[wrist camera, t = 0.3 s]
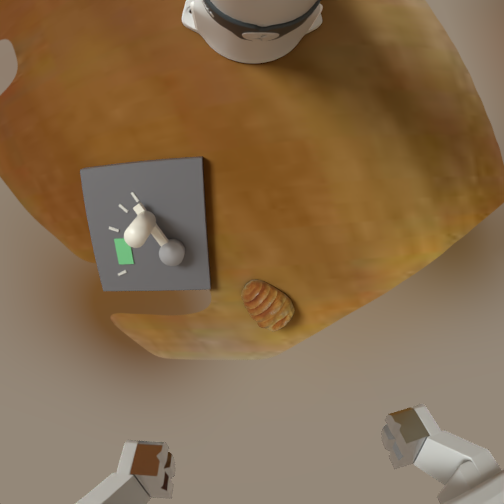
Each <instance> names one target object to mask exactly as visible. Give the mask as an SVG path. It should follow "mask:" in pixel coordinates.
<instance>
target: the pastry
mask: <svg viewBox="0 0 504 504" xmlns="http://www.w3.org/2000/svg"><path fill="white" fill-rule="evenodd" d="M241 297H242V299H243V301H244V305H245V307H246V308H247V310H248V312H249V314H250V316H251V318H253V319H254V320H255V321H257V322H258V325H259V326H260V327H262V328H266V329H268V330H271V331H277V330H279V329H281V328H283V327H284V326H286V325H287V323H288V322H289V321H290V320H291V319H292V317H293V314H294V312H295V309H294V307H293V305H292V302H291V300H290V298H288V297H287V296H286V295H285V294H284V293H282V292H281V291H280V290H278V289H277V288H275V287H273V286H271V285H270V284H268V283H266V282H264V281H260V280H251V281H250V282H248V283H247V284H246V285H245V287H244V288H243V290H242V295H241Z"/></svg>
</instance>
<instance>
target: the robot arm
mask: <svg viewBox="0 0 504 504" xmlns="http://www.w3.org/2000/svg"><path fill="white" fill-rule="evenodd" d="M320 1H321V0H186V3H185V7H184V11H183V15H182V23H183V25H184V26H185V27H187V28H189V29H191V30H193V31H195V32H197V33H199V34H200V35H201V36H202V37H203V38H204V39H205V41H206V42H207V43H208V44H209V46H210V47H211V48H212V49H214V50H215V51H216V52H217V53H219V54H221V55H222V56H224V57H226V58H228V59H231V60H234V61H237V62H242V63H253V64H254V63H265V62H269V61H273V60H276V59H278V58H280V57H282V56H284V55H286V54H287V53H289V52H290V51H291V50H292V49H293V48H294V47H295V46H296V45H297V44H298V43H299V41H300V40H301V39H302V37H303V36H304V35H305V34H307V33H309V32H311V31H313V30H315V29H317V28H318V27H319V26H320V25H321V23H322V16H321V11H322V8H323V6H322V4H320ZM190 11H191V12H192V14H191V13H190ZM385 421H386V423H387V424H386V425H385V426H384V427H383V429H382V442H383V445H384V447H385V449H387V450H388V451H390V455H389V459H390V461H391V463H392V465H393V467H394V469H397V468H400V467H404V466H407V465H409V464H413V463H414V465H416V466H417V467H419V468H420V469H421V470H423V471H424V472H426V473H427V474H429V475H430V476H432V477H433V478H435V479H436V480H438V481H439V482H441V483H442V484H444V485H445V487H444V488H443V489H442V490H441V492H440V493H439V494H438V496H437V497H438V500H439V502H440V504H504V470H501V469H500V467H499V465H498V464H497V462H496V461H495V459H494V458H493V456H492V455H491V453H490V452H489V450H487V449H486V448H483V447H481V446H478V445H476V444H474V443H472V442H470V441H467V440H465V439H463V438H460V437H458V436H456V435H454V434H452V433H450V432H448V431H445V430H444V431H441V429H440V428H439V426H438V425H437V423H436V422H435V420H434V419H433V417H432V416H431V414H430V412H429V411H428V409H427V408H426V406H425V405H423V404H420V405H417V406H414V407H411V408H407V409H404V410H401V411H397V412H394V413H391V414H388V415H387V416H386V419H385ZM168 449H169V447H168V445H167V443H166V442H147V441H136V440H127V441H126V442H125V444H124V447H123V451H122V454H121V458H120V461H119V465H118V469H117V473H112V474H111V475H110V476H108V477H107V478H106V479H105V480H104V481H103V482H101V483H100V484H99V485H98V486H96V487H95V488H94V489H93V490H92V491H90V492H89V493H88V494H87V495H85V496H84V497H83V498H82V499H80V500H79V501H78V502H77V503H75V504H147V502H148V501H149V500H150V499H151V498H150V497H153V498H172V493H173V483H172V481H171V480H170V479H171V478H172V477H174V475H175V461H174V457H173V455H172V454H171V453H170V452H168Z"/></svg>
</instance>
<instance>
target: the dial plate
mask: <svg viewBox="0 0 504 504" xmlns="http://www.w3.org/2000/svg"><path fill="white" fill-rule="evenodd" d="M80 174H81V182H82V189H83V195H84V202H85V208H86V214H87V219H88V225H89V230H90V235H91V240H92V245H93V249H94V254H95V258H96V263H97V267H98V271H99V275H100V279H101V283H102V287H103V291H161V290H201V289H211V279H210V266H209V253H208V240H207V225H206V209H205V192H204V173H203V156H202V157H185V158H171V159H159V160H148V161H138V162H128V163H119V164H111V165H103V166H95V167H88V168H83V169H81V170H80ZM140 202H141V203H142V204H143V206H144V207H145V209H146V210H147V211H149V212H151V213H153V214H154V216H155V218H156V224H157V225H158V227H159V228H160V229H161V231H162V232H163V233H164V235H165V236H166V237H167V239H177V240H179V241H181V242H182V243H183V245H184V247H185V255H184V258H183V260H182V262H181V263H180V264H179V265H176V266H168V265H166V264H164V263H163V262H162V261H161V259H160V257H159V250H160V248H161V246H160V245H159V243H158V242H157V241H156V239H155V238H154V237H153V235H152V234H151V233H150V235H149V236H148V238H147V240H146V241H145V243H144V244H143V245H142V246H141V247H139V248H133V247H130V246H129V245H128V244H127V243H126V242H125V240H124V232H125V230H126V229H127V228H128V227H129V225H130V224H131V223H132V222H133V220H134V219H135V218H136V217H137V216H138V215H137V214H136V212H135V211H134V210H133V207H134V206H136V205H137V204H139V203H140Z"/></svg>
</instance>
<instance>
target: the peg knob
mask: <svg viewBox="0 0 504 504" xmlns="http://www.w3.org/2000/svg"><path fill="white" fill-rule="evenodd" d="M133 210H134V211H135V212H136V214H137V215H138V216H137V217H136V218H135V219H134V220H133V222H132V223H131V224H130V225H129V227H128V228H127V229H126V230H125V232H124V240H125V242H126V243H127V244H128V245H129V246H130V247H133V248H139V247H141V246H142V245H143V244H144V243H145V241H146V240H147V238H148V236H149V235H150V233H151V234H152V235H153V237H154V238H155V239H156V241H157V242H158V243H159V245H160V246H161V248H160V250H159V257H160V259H161V261H162V262H163V263H164V264H166V265H168V266H176V265H179V264H180V263H181V262H182V260H183V258H184V255H185V247H184V245H183V243H182V242H181V241H179V240H177V239H167V237H166V236H165V235H164V233H163V232H162V231H161V229H160V228H159V227H158V225H157V224H156V218H155V216H154V214H153V213H151V212H149V211H147V210H146V209H145V207H144V206H143V204H142V203H141V202H140V203H139V204H137V205H136V206H134V207H133Z"/></svg>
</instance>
